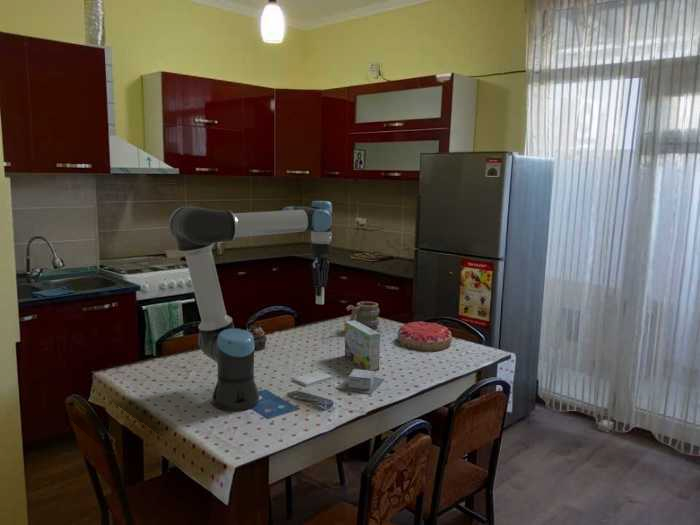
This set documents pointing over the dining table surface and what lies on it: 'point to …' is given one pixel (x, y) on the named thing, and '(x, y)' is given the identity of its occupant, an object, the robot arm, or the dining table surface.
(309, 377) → the hard drive
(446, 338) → the cake
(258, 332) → the cupcake
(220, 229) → the robot arm
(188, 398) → the dining table surface
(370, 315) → the tankard
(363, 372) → the medicine box
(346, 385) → the rubber mat
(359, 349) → the snack box
